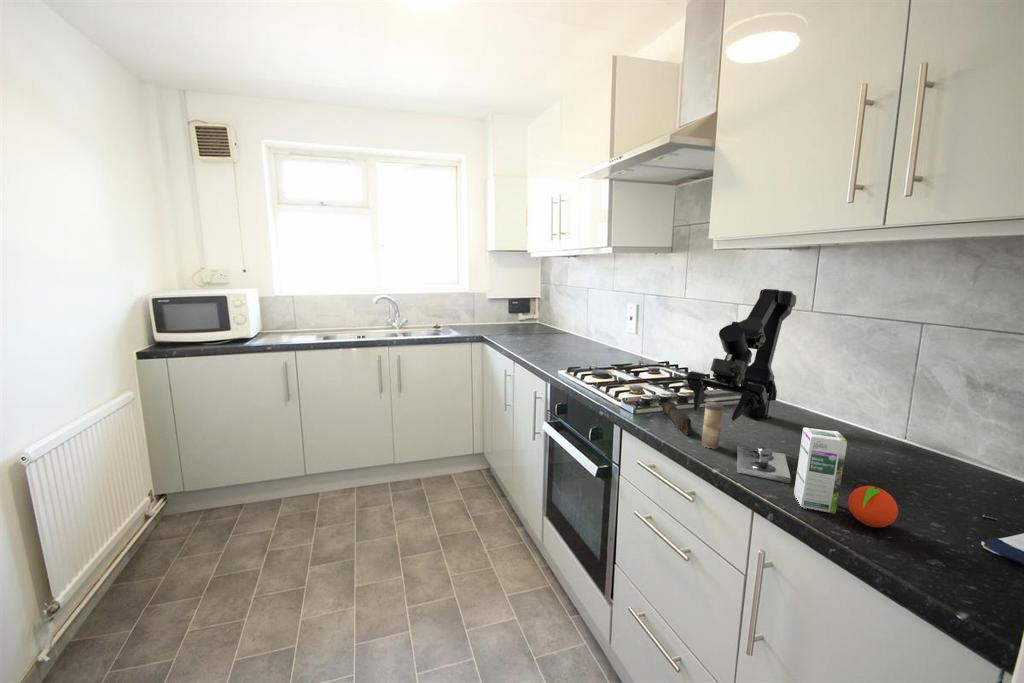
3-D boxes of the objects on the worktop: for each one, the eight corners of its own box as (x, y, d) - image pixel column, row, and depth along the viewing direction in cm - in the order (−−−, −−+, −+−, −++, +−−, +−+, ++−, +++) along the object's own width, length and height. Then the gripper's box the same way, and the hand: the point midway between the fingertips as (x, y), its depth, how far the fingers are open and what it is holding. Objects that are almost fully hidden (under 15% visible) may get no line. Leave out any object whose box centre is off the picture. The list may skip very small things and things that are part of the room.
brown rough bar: (661, 413, 137) (662, 398, 136) (674, 413, 136) (675, 399, 135) (677, 437, 118) (678, 420, 117) (692, 438, 118) (694, 421, 117)
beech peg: (710, 441, 115) (715, 401, 113) (722, 448, 111) (727, 406, 109) (697, 443, 114) (701, 402, 112) (708, 449, 110) (713, 407, 108)
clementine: (883, 542, 74) (891, 503, 73) (835, 522, 80) (842, 485, 79) (900, 527, 79) (907, 490, 78) (853, 509, 84) (860, 474, 83)
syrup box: (800, 508, 84) (811, 436, 82) (792, 493, 90) (803, 425, 87) (835, 515, 82) (848, 441, 80) (826, 499, 88) (837, 429, 85)
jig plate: (737, 449, 110) (739, 429, 109) (784, 458, 106) (787, 437, 105) (737, 472, 98) (740, 449, 97) (789, 483, 94) (793, 459, 93)
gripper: (692, 341, 118) (669, 388, 112) (770, 352, 105) (748, 407, 99) (701, 365, 125) (680, 411, 119) (775, 379, 112) (755, 431, 106)
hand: (713, 414), depth 111 cm, fingers open, 9 cm apart
